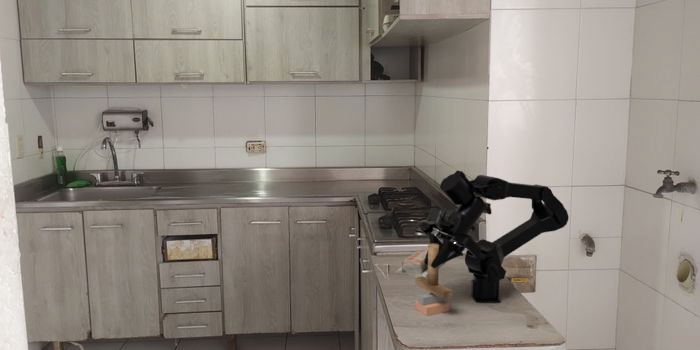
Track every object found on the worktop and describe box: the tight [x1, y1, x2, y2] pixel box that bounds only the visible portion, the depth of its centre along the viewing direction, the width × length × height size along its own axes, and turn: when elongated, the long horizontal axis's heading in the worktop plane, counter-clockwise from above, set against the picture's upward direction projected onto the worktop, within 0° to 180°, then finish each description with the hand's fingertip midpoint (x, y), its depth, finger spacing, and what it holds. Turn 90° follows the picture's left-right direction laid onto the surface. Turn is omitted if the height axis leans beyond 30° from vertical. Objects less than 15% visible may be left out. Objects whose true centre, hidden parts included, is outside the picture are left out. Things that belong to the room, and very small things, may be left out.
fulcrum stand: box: [414, 292, 451, 317], centre depth 142 cm, size 7×5×4 cm
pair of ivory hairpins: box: [373, 263, 390, 281], centre depth 170 cm, size 17×5×2 cm, turn 5°
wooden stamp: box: [414, 243, 453, 299], centre depth 140 cm, size 3×12×12 cm, turn 27°
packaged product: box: [394, 248, 445, 279], centre depth 176 cm, size 18×5×10 cm
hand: (428, 265), depth 139 cm, fingers closed on wooden stamp, 2 cm apart
